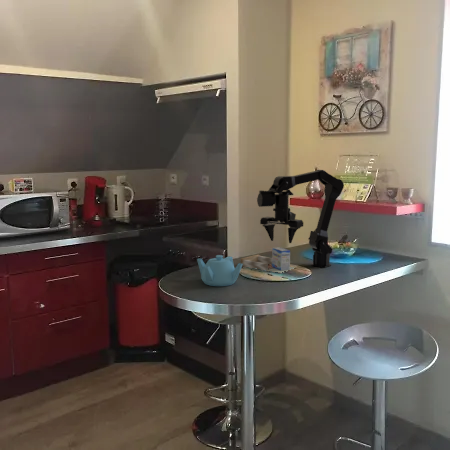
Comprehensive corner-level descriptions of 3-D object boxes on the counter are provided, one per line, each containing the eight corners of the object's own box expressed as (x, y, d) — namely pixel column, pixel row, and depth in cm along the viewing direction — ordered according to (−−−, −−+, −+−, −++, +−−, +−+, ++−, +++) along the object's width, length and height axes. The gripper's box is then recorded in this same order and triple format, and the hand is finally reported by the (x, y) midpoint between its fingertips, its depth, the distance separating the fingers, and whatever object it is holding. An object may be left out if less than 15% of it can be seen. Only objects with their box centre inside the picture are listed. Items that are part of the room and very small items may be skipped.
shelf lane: (282, 266, 229) (282, 258, 229) (266, 271, 220) (266, 263, 219) (257, 261, 238) (257, 254, 237) (240, 266, 228) (240, 258, 228)
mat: (295, 268, 224) (295, 267, 224) (280, 273, 215) (280, 272, 215) (282, 266, 229) (282, 265, 229) (266, 271, 220) (266, 270, 220)
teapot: (243, 286, 195) (244, 258, 193) (205, 289, 191) (205, 260, 190) (232, 277, 210) (233, 251, 208) (196, 279, 206) (196, 252, 204)
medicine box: (271, 267, 225) (271, 247, 224) (280, 266, 227) (280, 247, 226) (281, 271, 218) (281, 250, 217) (290, 270, 220) (290, 250, 219)
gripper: (310, 205, 220) (309, 241, 222) (273, 203, 232) (273, 237, 234) (296, 208, 212) (296, 245, 214) (259, 205, 223) (259, 240, 225)
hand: (281, 241), depth 222 cm, fingers open, 9 cm apart
